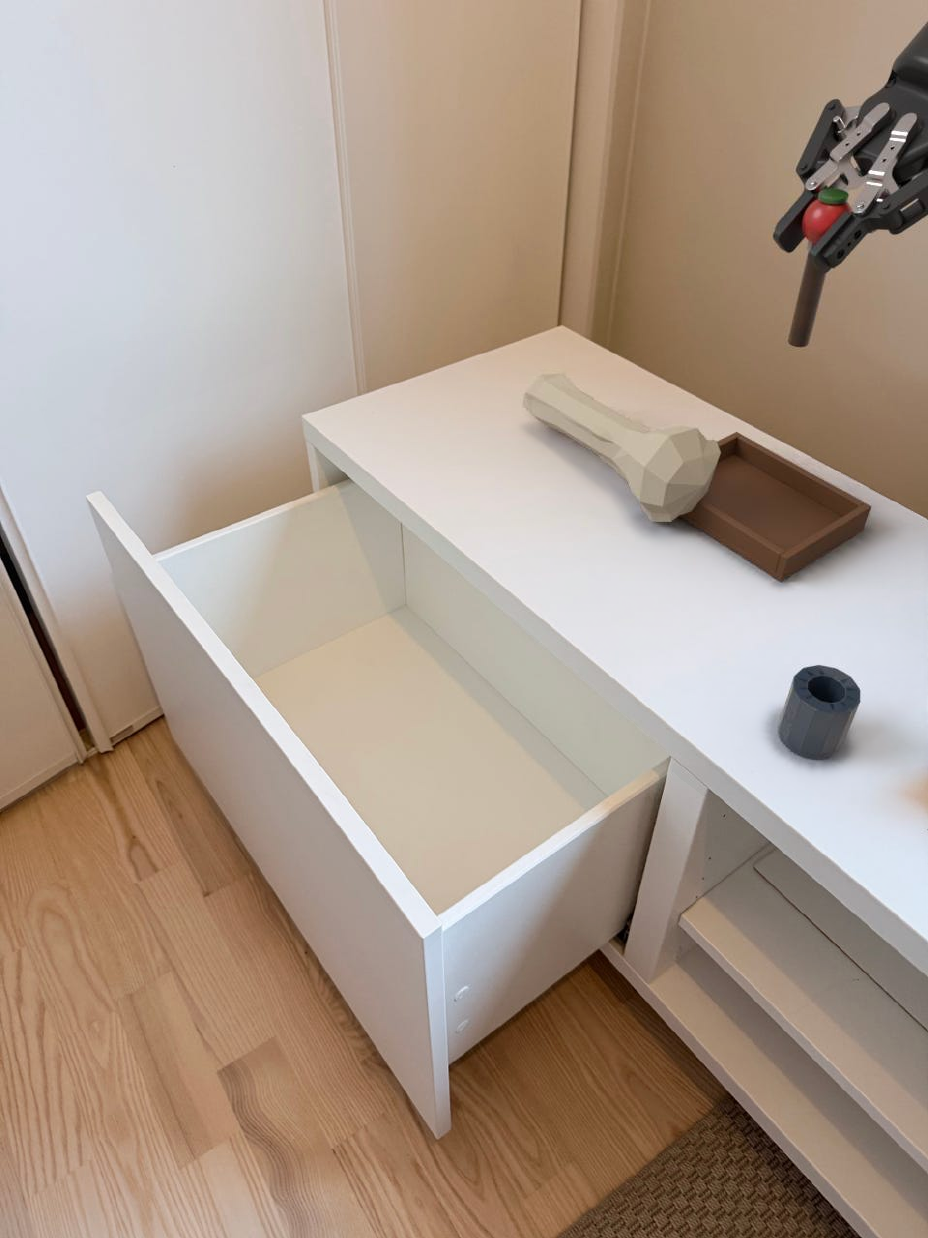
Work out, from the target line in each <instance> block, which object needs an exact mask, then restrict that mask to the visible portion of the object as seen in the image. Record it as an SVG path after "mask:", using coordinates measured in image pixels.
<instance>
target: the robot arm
mask: <svg viewBox="0 0 928 1238" xmlns="http://www.w3.org/2000/svg"><path fill="white" fill-rule="evenodd" d="M852 159H854V161H855V163H856V164H857V166H856V167H854V165H853V164H852V162H851V160H852ZM795 172H796V174H797V176H798V177H799V179H800V181H801V182H802V184H803V186H804V187H803V188H804V189H803V191H802V193H801V194H800V196H799V197H798V198H797V199H796V200H795V202H794V203H793V204H792V205H791V206H790V207H789V208H788V210H787V211H786V212H785V213H784V215H783V216H782V217H781V218H780V219H779V220H778V221H777V223H776V225H775V228H774V231H773V234H772V239H773V241H774V242H775V243H776V244H777V246H778V248H779V249H781V250H782V251H783V252H785V253H787V254H790V253H793V252H794V251H795V250H796V248H797V247H799V245H801V243H802V242H803V241H804V239H806V237H805V235H804V233H803V229H802V220H803V216H804V213H805V211H806V209H807V208H808V207H809V205H810V204H811V203H812V202H813V201H815V200H816V199H818V195H819V192H820V191H821V190H823V189H840V190H843V191H846V192H847V193H848V192H850V190H857V189H859V188H861V186H863V185H864V184H865V183H866V184H865V185H864V187H863V188H862V190H861V191H860V192H859V194H858V195H857V197H856V199H855V200H854V201H853V203H852V205H851V208H852V212H851V213H849V212H847V211H844V212H843V213H842V215H841V216H840V217H839V218H838V219H837V220H836V221H835V223H834V224H833V225H832V226H831V227H830V228H829V229H828V231H827V232H826V233H825V234H824V235H823V236H822V238H821V239H820V240H819V241H818V242H817V243H816V244H815V246H814V247H813V248H812V249H811V250H810V252H809V254H808V253H807V256H808V259H809V260H810V262H811V263H812V265H813V266H814V267H815V269H817V270H818V271H820V272H822V273H826V274H827V273H828V272H830V271H831V270H832V269H835V268H836V267H838V266H839V265H841V264H842V263H843V262H844V261H845V259H847V257H849V255H850V254H851V252H853V251H854V250H855V248H857V246H858V245H860V243H861V242H862V240H864V239H865V237H866V236H868V234H873V233H875V232H877V231H878V230H881V231H888V232H889V233H890V235H893V236H896V235H900V234H901V233H903V232H904V231H906V230H908V229H909V228H911V227H912V226H914V225H915V224H917V223H918V222H920V221H921V220H922V219H924V218H926V217H927V216H928V21H926V22H925V24H924V25H923V27H921V29H920V30H919V31H918V32H917V33H916V34H915V36H914V37H913V38H912V39H911V41H910V42H909V43H908V44H907V45H906V47H904V49H903V50H902V51H900V53H899V54H898V56H897V57H896V58H895V60H894V62H893V63H892V67H891V71H890V73H889V77H888V79H887V82H886V83H885V84H884V85H883V87H881V88H880V89H879V90H878V91H876V92H875V93H873V94H872V95H870V96H869V97H868V98H867V99H866V100H864V102H863V103H862V104H861V105H853V106H844V105H843V104H842V102H841V100H840V99H839V98H833V99H831V100H830V101H828V102H827V103H826V104H825V106H824V107H823V109H822V112H821V114H820V115H819V118H818V119H817V123H816V125H815V127H814V129H813V131H812V133H811V135H810V137H809V139H808V141H807V144H806V146H805V148H804V150H803V153H802V154H801V157H800V158H799V161H798V163H797V165H796V167H795ZM838 175H839V176H838ZM837 176H838V177H837ZM835 177H837V178H836V179H835V180H834V181H833V182H832V183H831V184H830V185H829V186H828V184H829V183H830V182H831V181H832V180H833V179H834V178H835ZM908 205H909V206H908ZM902 209H903V210H902Z"/></svg>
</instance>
